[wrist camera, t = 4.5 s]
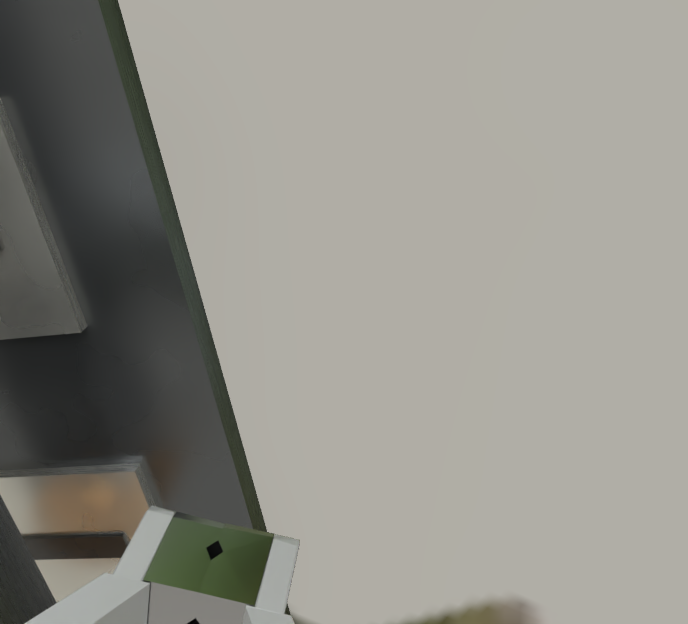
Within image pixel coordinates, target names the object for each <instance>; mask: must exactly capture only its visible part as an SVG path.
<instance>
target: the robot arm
mask: <svg viewBox="0 0 688 624" xmlns="http://www.w3.org/2000/svg"><path fill="white" fill-rule="evenodd" d="M299 545H300V540H298V539H294V538H289V537H285V536H280V535H276V534H275V536H274V534H273V533H269V532H264V531H259V530H255V529H250V528H246V527H241V526H236V525H232V524H227V523H226V524H224V523H220V522H216V521H212V520H208V519H204V518H200V517H196V516H193V515H189V514H185V513H181V512H176V511H172V510H168V509H164V508H160V507H156V506H151V507H150V508H149V509H148V510H147V511H146V513H145V514H144V516H143V518H142V520H141V522H140V524H139V526H138V527H137V529H136V531H135V533H134V535H133V537H132V539H131V540H130V542H129V544H128V546H127V548H126V550H125V552H124V553H123V555H122V557H121V559H120V561H119V563H118V565H117V567H116V568H115V570H114V572H113V574H109V573H103V574H102V575H100V576H99V577H97V578H96V579H94V580H92V581H91V582H89V583H88V584H86V585H84V586H83V587H81V588H80V589H78V590H77V591H75V592H73V593H72V594H70V595H69V596H67V597H65V598H64V599H62V600H61V601H59V602H58V603H56V604H54V605H53V606H51V607H50V608H48V609H46V610H45V611H43V612H42V613H40V614H39V615H37V616H35V617H34V618H32V619H31V620H29V621H27V622H26V623H24V624H295V622H294V620H293V617H292V616H290V615H287V614H285V609H286V605H287V600H288V595H289V591H290V586H291V581H292V577H293V572H294V568H295V563H296V559H297V554H298V549H299Z"/></svg>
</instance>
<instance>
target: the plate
mask: <svg viewBox="0 0 688 624" xmlns="http://www.w3.org/2000/svg"><path fill="white" fill-rule="evenodd" d="M0 495H1V497H2V499H3V501H4V503H5V505H6V507H7V509H8V510H9V512H10V514H11V516H12V518H13V520H14V522H15V524H16V526H17V528H18V530H19V532H20V533H21V535H22V537H23V539H24V541H25V543H26V545H27V547H28V549H29V551H30V553H31V554H32V556H33V558H34V560H35V562H36V564H37V566H38V568H39V570H40V572H41V574H42V576H43V577H44V579H45V581H46V583H47V585H48V587H49V589H50V591H51V593H52V595H53V597H54V598H55V600H56V602H57V603H58V602H59V601H61V600H62V599H64V598H65V597H67V596H69V595H70V594H72V593H73V592H75V591H77V590H78V589H80V588H81V587H83V586H84V585H86V584H88V583H89V582H91V581H92V580H94V579H96V578H97V577H99V576H100V575H102V574H103V573H109V574H113V572H114V570H115V568H116V567H117V565H118V563H119V561H120V559H121V557H122V555H123V553H124V552H125V550H126V548H127V546H128V544H129V542H130V540H131V539H132V537H133V535H134V533H135V531H136V529H137V527H138V526H139V524H140V522H141V520H142V518H143V516H144V514H145V513H146V511H147V510H148V509H149V508H150V507H151V506H156V507H160V508H164V509H168V510H172V511H176V512H181V513H185V514H189V515H193V516H196V517H200V518H204V519H208V520H212V521H216V522H220V523H224V524H226V523H227V524H232V525H236V526H241V527H246V528H250V529H255V530H259V531H264V532H267V530H266V526H265V523H264V520H263V515H262V512H261V509H260V505H259V501H258V498H257V494H256V491H255V487H254V483H253V480H252V476H251V473H250V470H249V466H248V462H247V459H246V455H245V451H244V448H243V445H242V441H241V438H240V434H239V430H238V427H237V423H236V419H235V416H234V413H233V409H232V405H231V402H230V398H229V395H228V391H227V387H226V384H225V380H224V377H223V373H222V370H221V366H220V363H219V359H218V356H217V352H216V348H215V345H214V342H213V338H212V334H211V331H210V327H209V323H208V320H207V316H206V313H205V309H204V306H203V302H202V299H201V295H200V291H199V288H198V284H197V281H196V277H195V274H194V270H193V267H192V263H191V259H190V256H189V252H188V249H187V245H186V242H185V238H184V235H183V231H182V227H181V224H180V220H179V217H178V213H177V210H176V206H175V202H174V199H173V195H172V192H171V188H170V185H169V181H168V178H167V174H166V171H165V167H164V163H163V160H162V156H161V153H160V149H159V146H158V142H157V138H156V135H155V131H154V128H153V124H152V121H151V117H150V114H149V110H148V107H147V103H146V99H145V96H144V92H143V89H142V85H141V82H140V78H139V74H138V71H137V67H136V64H135V61H134V57H133V53H132V50H131V46H130V42H129V39H128V36H127V32H126V28H125V25H124V21H123V18H122V14H121V10H120V7H119V3H118V0H0ZM285 614H287V615H290V612H289V608H288V604H287V605H286V609H285ZM290 616H291V615H290Z"/></svg>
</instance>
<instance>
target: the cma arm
mask: <svg viewBox="0 0 688 624" xmlns="http://www.w3.org/2000/svg"><path fill="white" fill-rule="evenodd" d="M56 603H57V602H56V600H55V598H54V597H53V595H52V593H51V591H50V589H49V587H48V585H47V583H46V581H45V579H44V577H43V576H42V574H41V572H40V570H39V568H38V566H37V564H36V562H35V560H34V558H33V556H32V554H31V553H30V551H29V549H28V547H27V545H26V543H25V541H24V539H23V537H22V535H21V533H20V532H19V530H18V528H17V526H16V524H15V522H14V520H13V518H12V516H11V514H10V512H9V510H8V509H7V507H6V505H5V503H4V501H3V499H2V497H1V495H0V624H24V623H26V622H27V621H29V620H31V619H32V618H34V617H35V616H37V615H39V614H40V613H42V612H43V611H45V610H46V609H48V608H50V607H51V606H53V605H54V604H56Z"/></svg>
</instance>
